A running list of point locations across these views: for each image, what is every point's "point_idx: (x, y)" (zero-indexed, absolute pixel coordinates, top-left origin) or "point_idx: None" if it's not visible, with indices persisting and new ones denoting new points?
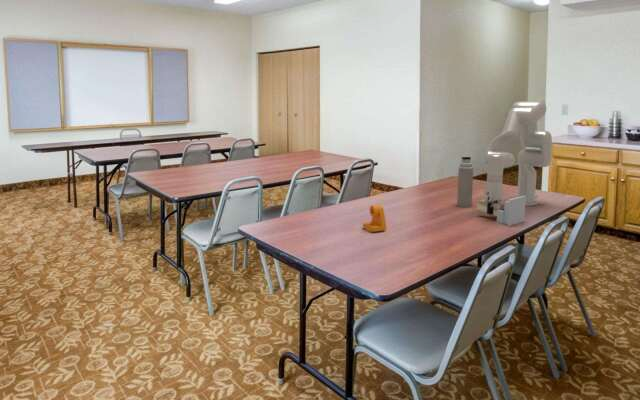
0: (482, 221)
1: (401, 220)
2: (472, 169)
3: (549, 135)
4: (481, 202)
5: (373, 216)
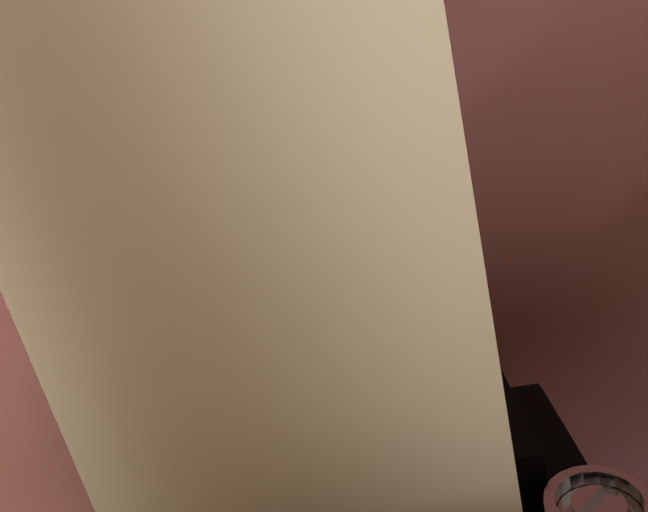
0: (21, 421)
1: None
2: None
3: None
4: (28, 261)
5: None
